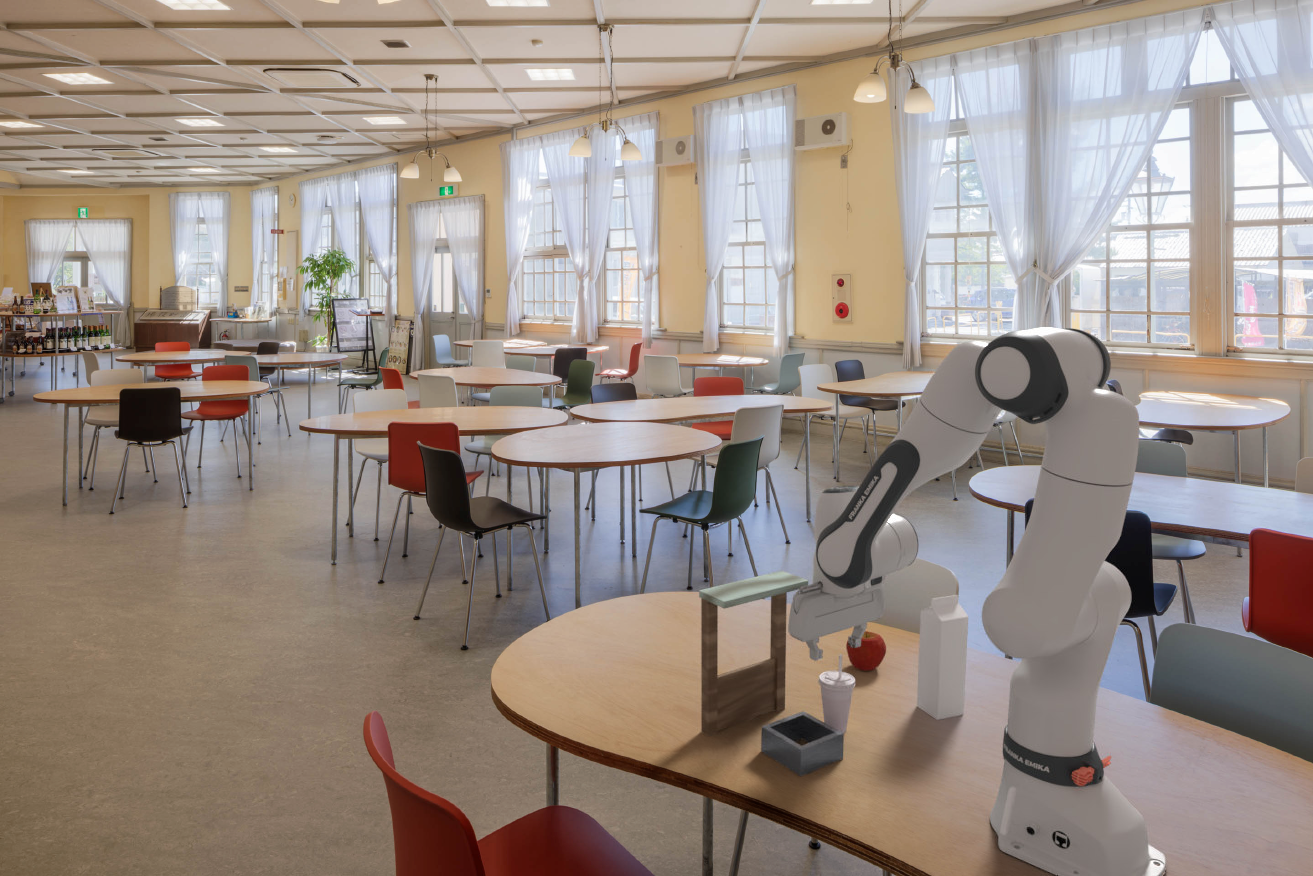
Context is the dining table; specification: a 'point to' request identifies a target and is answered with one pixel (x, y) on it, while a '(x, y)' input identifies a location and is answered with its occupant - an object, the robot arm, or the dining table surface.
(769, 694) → the green-topped frame
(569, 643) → the dining table surface
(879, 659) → the apple
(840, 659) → the smoothie
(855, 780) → the dining table surface
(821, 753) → the socket
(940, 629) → the milk
